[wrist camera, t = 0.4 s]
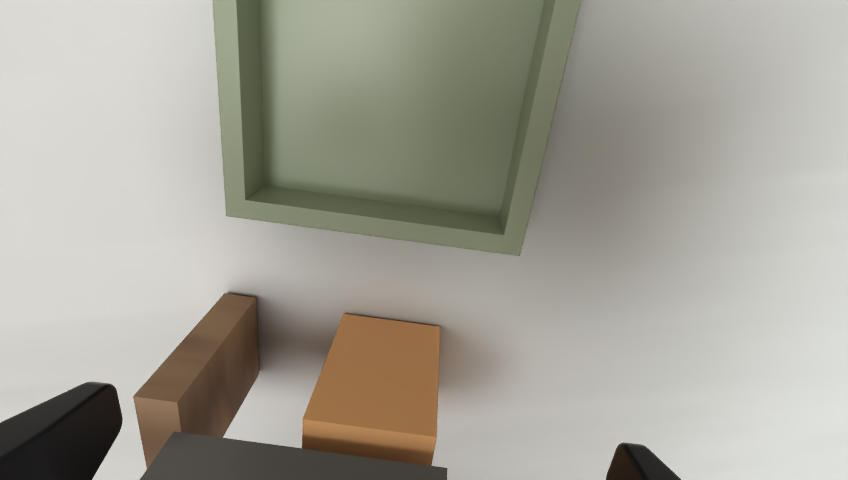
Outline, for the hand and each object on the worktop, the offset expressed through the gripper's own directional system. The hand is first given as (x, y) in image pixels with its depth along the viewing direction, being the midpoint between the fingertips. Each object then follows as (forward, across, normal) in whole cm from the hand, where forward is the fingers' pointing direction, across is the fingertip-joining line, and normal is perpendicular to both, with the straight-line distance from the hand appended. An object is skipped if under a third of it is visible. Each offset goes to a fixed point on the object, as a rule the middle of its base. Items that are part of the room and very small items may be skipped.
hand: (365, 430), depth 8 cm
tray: (+13, +1, -5) cm, 14 cm away
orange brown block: (+14, +1, +9) cm, 16 cm away
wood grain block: (+13, +8, +9) cm, 18 cm away
